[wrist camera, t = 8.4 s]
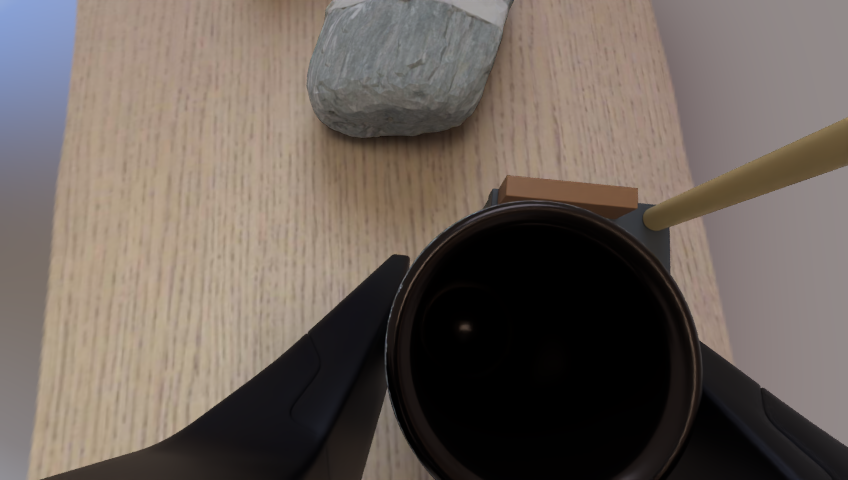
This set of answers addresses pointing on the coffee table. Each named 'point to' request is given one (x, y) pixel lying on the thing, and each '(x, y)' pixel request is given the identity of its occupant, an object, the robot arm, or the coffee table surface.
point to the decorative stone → (403, 64)
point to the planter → (542, 351)
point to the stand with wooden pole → (652, 222)
